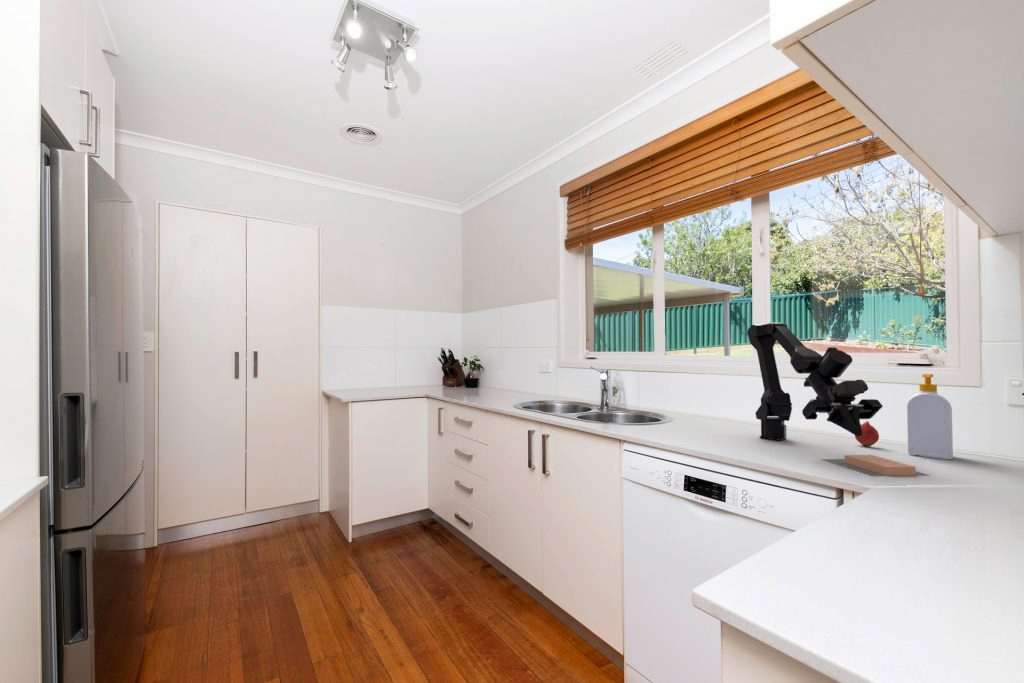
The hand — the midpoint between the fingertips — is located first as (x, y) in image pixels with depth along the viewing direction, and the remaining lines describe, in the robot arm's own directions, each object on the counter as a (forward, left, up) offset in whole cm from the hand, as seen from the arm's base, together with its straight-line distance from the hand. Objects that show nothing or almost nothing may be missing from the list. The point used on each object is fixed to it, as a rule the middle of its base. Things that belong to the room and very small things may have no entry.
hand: (860, 435), depth 113 cm
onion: (-3, +29, -8) cm, 30 cm away
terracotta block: (-1, +1, -6) cm, 6 cm away
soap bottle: (+11, +28, -8) cm, 31 cm away
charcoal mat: (+2, -2, -8) cm, 8 cm away
